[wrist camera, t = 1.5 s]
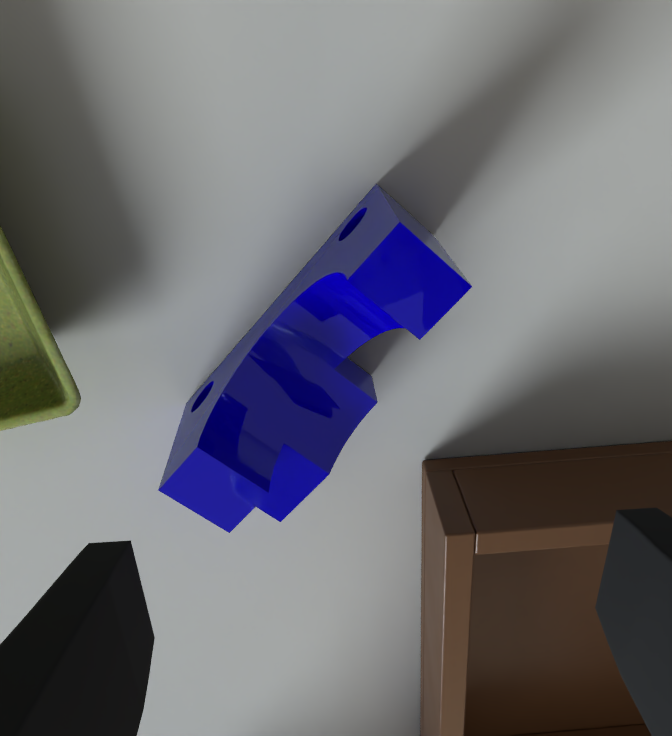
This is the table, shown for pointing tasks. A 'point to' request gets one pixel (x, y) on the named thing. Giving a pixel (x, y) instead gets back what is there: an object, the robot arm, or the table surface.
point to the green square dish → (28, 354)
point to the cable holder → (307, 368)
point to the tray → (527, 589)
